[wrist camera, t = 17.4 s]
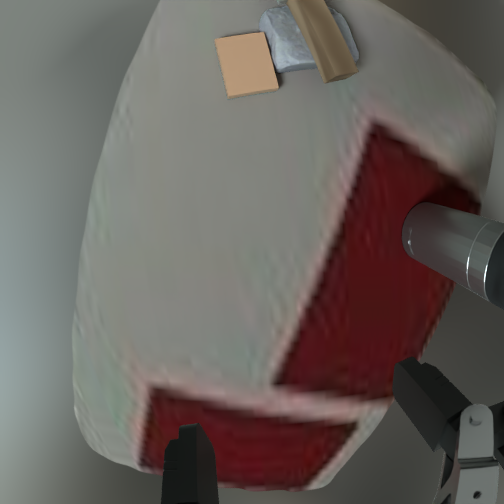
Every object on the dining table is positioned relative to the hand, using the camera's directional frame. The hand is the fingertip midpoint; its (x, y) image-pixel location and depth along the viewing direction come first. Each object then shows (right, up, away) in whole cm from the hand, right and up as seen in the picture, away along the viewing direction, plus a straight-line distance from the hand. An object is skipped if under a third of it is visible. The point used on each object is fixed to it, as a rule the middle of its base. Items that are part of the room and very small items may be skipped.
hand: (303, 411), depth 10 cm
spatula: (+5, +34, +17) cm, 38 cm away
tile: (-2, +25, +21) cm, 33 cm away
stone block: (+5, +34, +21) cm, 40 cm away
